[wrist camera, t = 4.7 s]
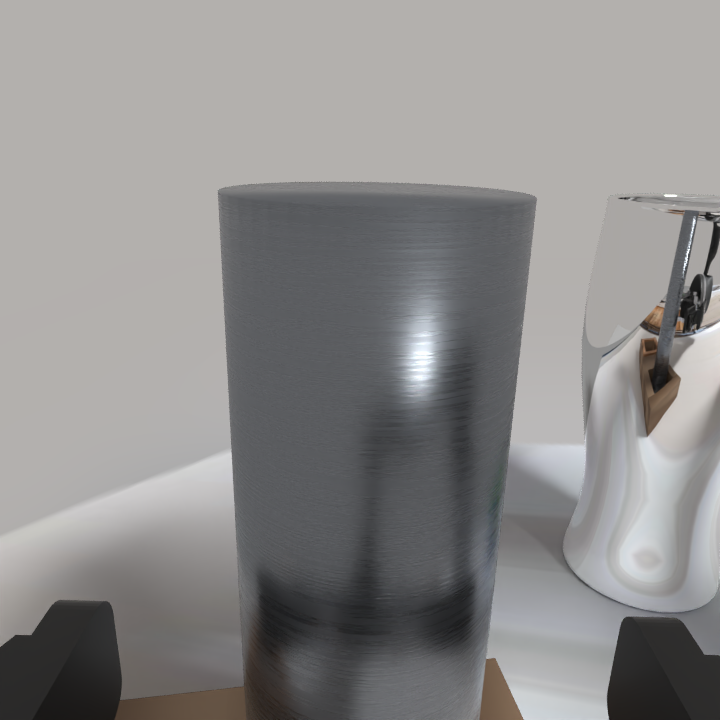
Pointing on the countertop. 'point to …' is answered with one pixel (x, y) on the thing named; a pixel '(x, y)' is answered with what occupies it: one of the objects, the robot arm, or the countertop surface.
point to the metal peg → (370, 438)
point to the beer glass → (652, 406)
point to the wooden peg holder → (228, 714)
